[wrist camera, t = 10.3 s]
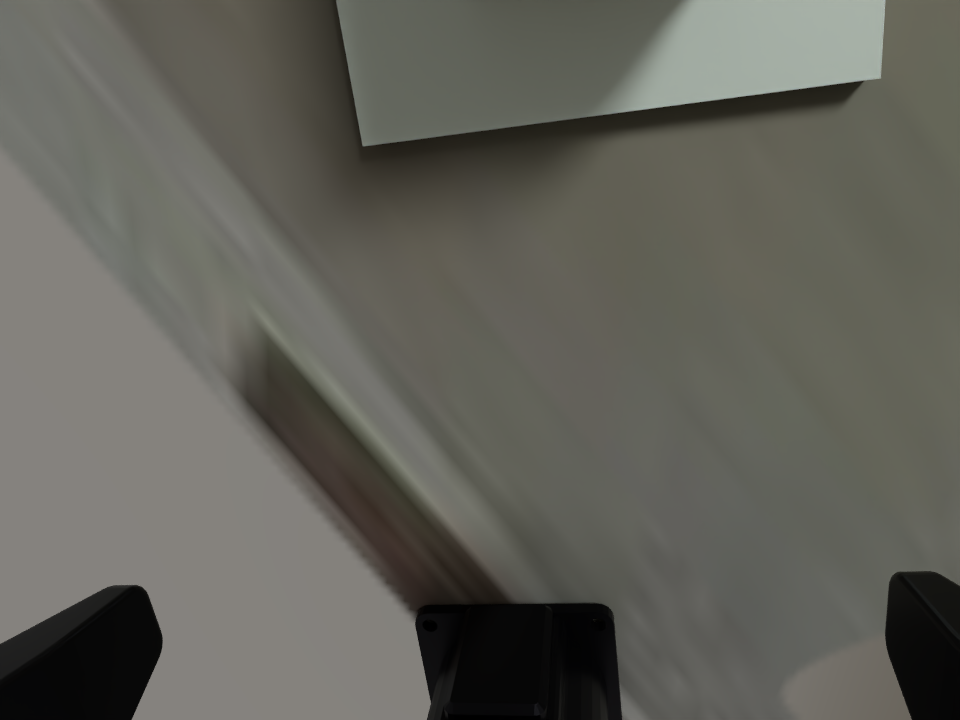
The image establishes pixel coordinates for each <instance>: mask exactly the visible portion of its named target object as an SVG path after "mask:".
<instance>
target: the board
mask: <svg viewBox="0 0 960 720" xmlns="http://www.w3.org/2000/svg"><path fill="white" fill-rule="evenodd" d="M336 3H337V8H338V14H339V19H340V25H341V30H342V36H343V41H344V47H345V52H346V58H347V63H348V69H349V74H350V80H351V85H352V90H353V96H354V101H355V107H356V112H357V118H358V123H359V129H360V134H361V140H362V145H363V146H371V145H379V144H386V143H394V142H401V141H409V140H416V139H424V138H432V137H439V136H447V135H454V134H462V133H470V132H477V131H485V130H492V129H500V128H507V127H515V126H523V125H530V124H538V123H545V122H553V121H560V120H568V119H576V118H583V117H591V116H598V115H606V114H613V113H621V112H629V111H636V110H644V109H651V108H659V107H666V106H674V105H682V104H689V103H697V102H704V101H712V100H719V99H727V98H735V97H742V96H750V95H757V94H765V93H772V92H780V91H788V90H795V89H803V88H810V87H818V86H825V85H833V84H841V83H848V82H856V81H863V80H871V79H879V78H881V62H882V46H883V30H884V14H885V0H336Z"/></svg>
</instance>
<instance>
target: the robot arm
mask: <svg viewBox="0 0 960 720" xmlns="http://www.w3.org/2000/svg"><path fill="white" fill-rule="evenodd" d="M597 618H598V619H602V620H604V621H603V622H599V623H598V622H594V621H593V619H597ZM428 619H429V620H433V621H435V622H436V623H430V622H428V621H427V620H428ZM415 626H416V631H417V636H418V641H419V646H420V651H421V656H422V661H423V666H424V670H425V675H426V680H427V685H428V690H429V695H430V700H431V706H430V710H429V714H428V718H427V720H622V712H621V700H620V687H619V675H618V662H617V650H616V638H615V625H614V615H613V612H612V611H611V609H610V608H609V607H607V606H605V605H603V604H500V605H428V606H424V607H423V608H421V609H420V611H419V612H418V615H417V618H416V622H415ZM885 639H886V646H887V650H888V654H889V658H890V660H891V663H892V666H893V669H894V672H895V674H896V677H897V680H898V683H899V685H900V688H901V691H902V694H903V697H904V699H905V702H906V705H907V707H908V710H909V713H910V716H911V719H912V720H960V586H959V585H957V584H956V583H954V582H952V581H951V580H949V579H947V578H946V577H944V576H942V575H940V574H938V573H936V572H931V571H916V572H897V573H895V574H894V575H893V576H892V577H891V580H890V582H889V591H888V604H887V616H886V628H885ZM162 641H163V640H162V633H161V630H160V627H159V624H158V621H157V619H156V616H155V613H154V610H153V607H152V604H151V602H150V599H149V596H148V594H147V592H146V591H145V590H144V589H143V588H142V587H140V586H138V585H115V586H110V587H107V588H105V589H103V590H101V591H99V592H97V593H95V594H93V595H92V596H90V597H88V598H86V599H84V600H82V601H81V602H78V603H77V604H75V605H73V606H71V607H69V608H67V609H65V610H63V611H61V612H60V613H58V614H56V615H54V616H52V617H50V618H48V619H46V620H45V621H43V622H41V623H39V624H37V625H35V626H33V627H31V628H30V629H28V630H26V631H24V632H22V633H20V634H18V635H16V636H15V637H13V638H11V639H9V640H7V641H5V642H3V643H1V644H0V720H132V717H133V715H134V713H135V711H136V708H137V706H138V704H139V702H140V699H141V697H142V695H143V693H144V690H145V688H146V686H147V684H148V681H149V679H150V677H151V675H152V672H153V670H154V668H155V666H156V663H157V661H158V659H159V657H160V653H161V650H162Z"/></svg>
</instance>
